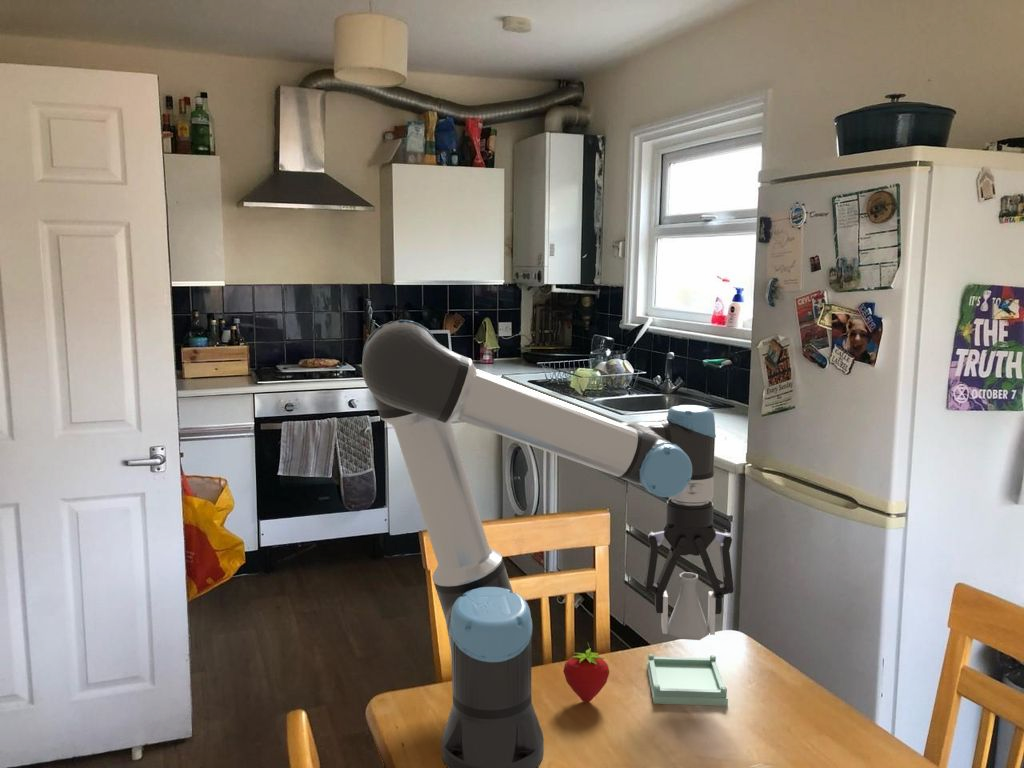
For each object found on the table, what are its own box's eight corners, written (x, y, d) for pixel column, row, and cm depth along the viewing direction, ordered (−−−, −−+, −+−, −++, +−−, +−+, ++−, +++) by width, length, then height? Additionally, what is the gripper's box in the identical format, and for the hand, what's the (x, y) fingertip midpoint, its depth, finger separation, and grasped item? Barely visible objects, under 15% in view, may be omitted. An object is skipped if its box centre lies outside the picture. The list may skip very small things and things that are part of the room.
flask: (660, 636, 138) (661, 579, 137) (672, 619, 145) (673, 564, 143) (703, 645, 135) (704, 586, 133) (714, 627, 141) (715, 571, 140)
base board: (653, 703, 136) (653, 688, 135) (647, 667, 148) (647, 653, 147) (727, 705, 135) (728, 690, 134) (715, 669, 147) (715, 655, 146)
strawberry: (562, 691, 140) (562, 636, 138) (607, 692, 139) (608, 636, 138) (563, 710, 134) (563, 652, 132) (610, 711, 134) (611, 653, 132)
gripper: (630, 505, 133) (629, 639, 137) (756, 506, 132) (752, 642, 135) (627, 492, 141) (626, 620, 144) (747, 493, 139) (743, 622, 143)
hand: (687, 630), depth 140 cm, fingers closed on flask, 7 cm apart
